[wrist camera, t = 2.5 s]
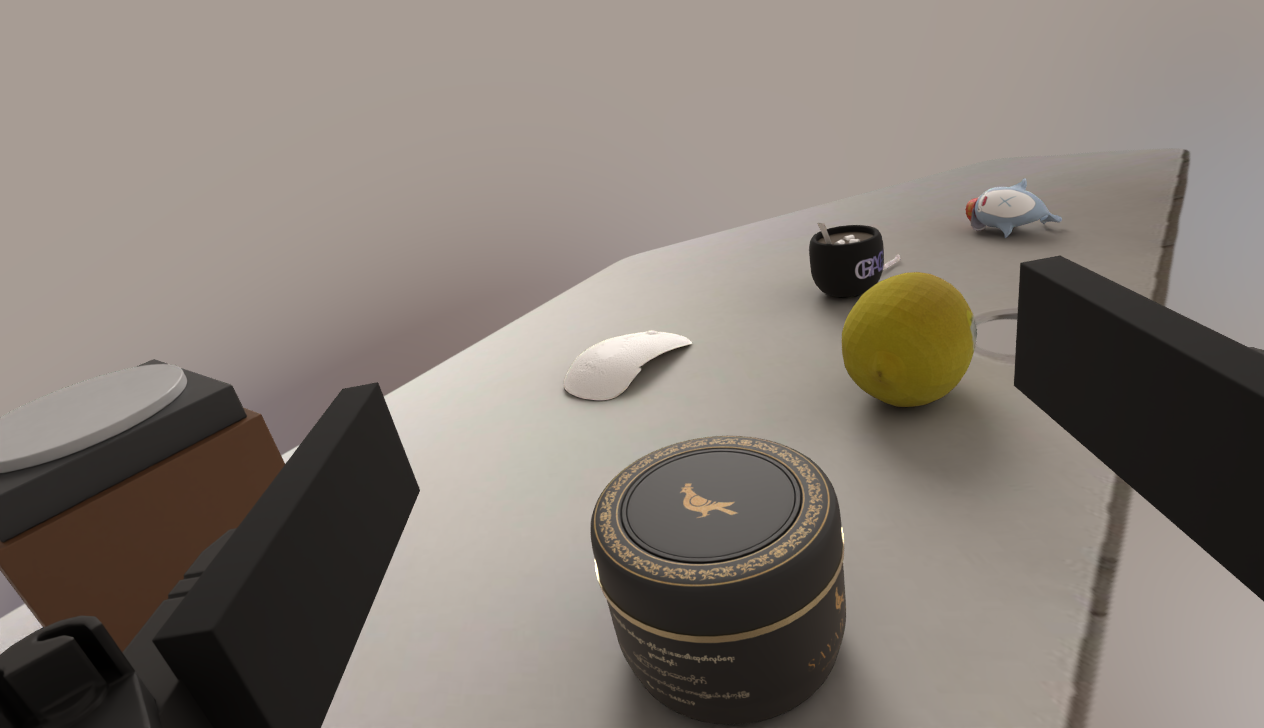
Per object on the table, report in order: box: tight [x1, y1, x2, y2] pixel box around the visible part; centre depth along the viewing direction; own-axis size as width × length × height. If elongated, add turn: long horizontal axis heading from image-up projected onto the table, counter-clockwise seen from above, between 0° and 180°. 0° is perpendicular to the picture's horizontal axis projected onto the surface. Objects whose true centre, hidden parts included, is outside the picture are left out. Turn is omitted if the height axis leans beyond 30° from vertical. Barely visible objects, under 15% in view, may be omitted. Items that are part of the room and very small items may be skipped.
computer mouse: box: [564, 330, 692, 400], centre depth 57 cm, size 7×12×2 cm, turn 141°
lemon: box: [842, 272, 977, 407], centre depth 44 cm, size 11×8×8 cm
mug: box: [809, 223, 901, 297], centre depth 63 cm, size 12×6×7 cm, turn 131°
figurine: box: [966, 178, 1062, 238], centre depth 69 cm, size 5×8×4 cm
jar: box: [591, 436, 846, 724], centre depth 29 cm, size 10×10×8 cm
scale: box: [0, 359, 285, 652], centre depth 39 cm, size 12×12×13 cm
